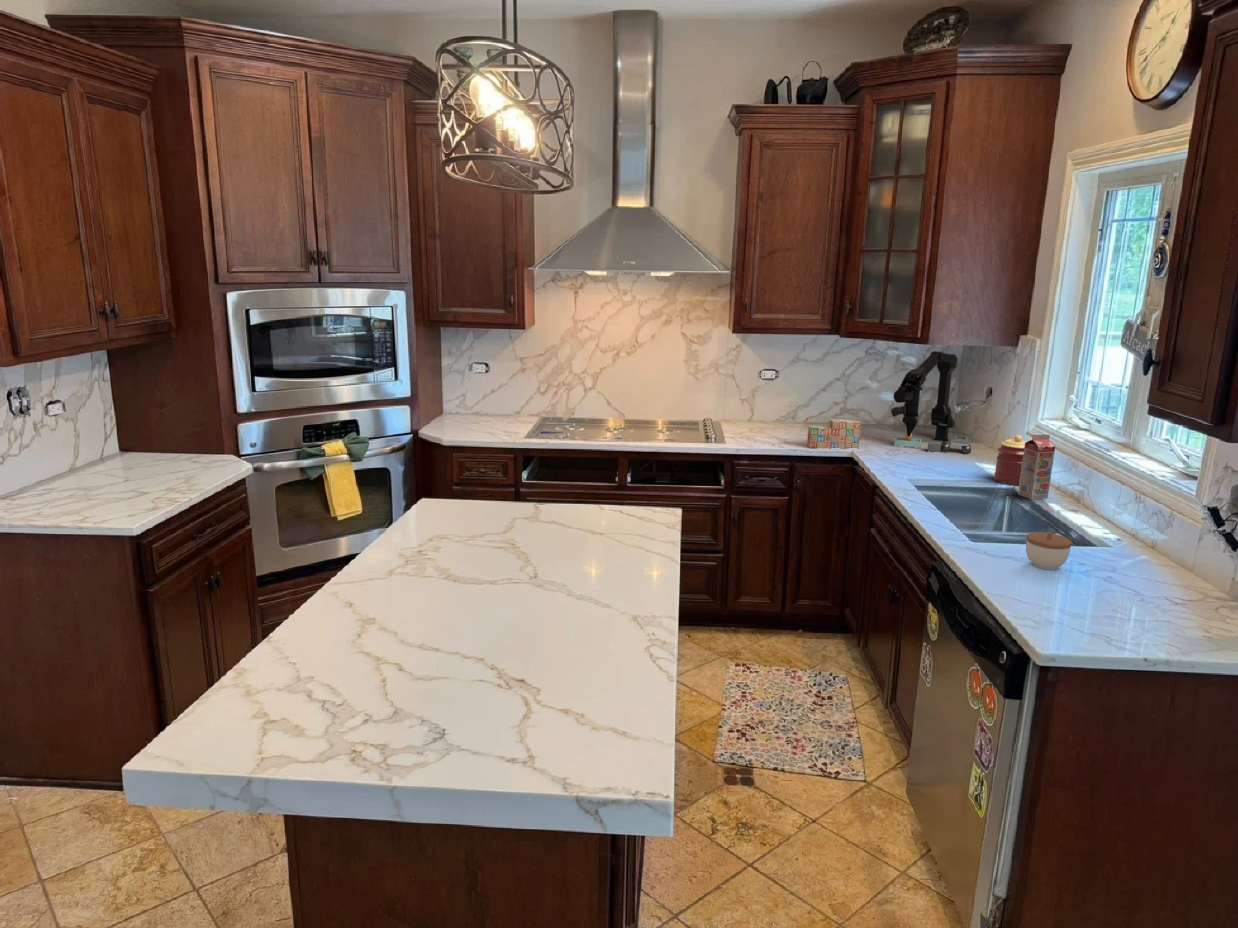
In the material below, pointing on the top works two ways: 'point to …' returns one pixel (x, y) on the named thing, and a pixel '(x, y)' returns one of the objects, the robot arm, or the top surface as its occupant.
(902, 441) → the tray
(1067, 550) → the lidded jar
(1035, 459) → the juice carton
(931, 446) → the block
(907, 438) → the pin
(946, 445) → the grey toy car
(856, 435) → the stack of blocks
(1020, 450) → the canister
